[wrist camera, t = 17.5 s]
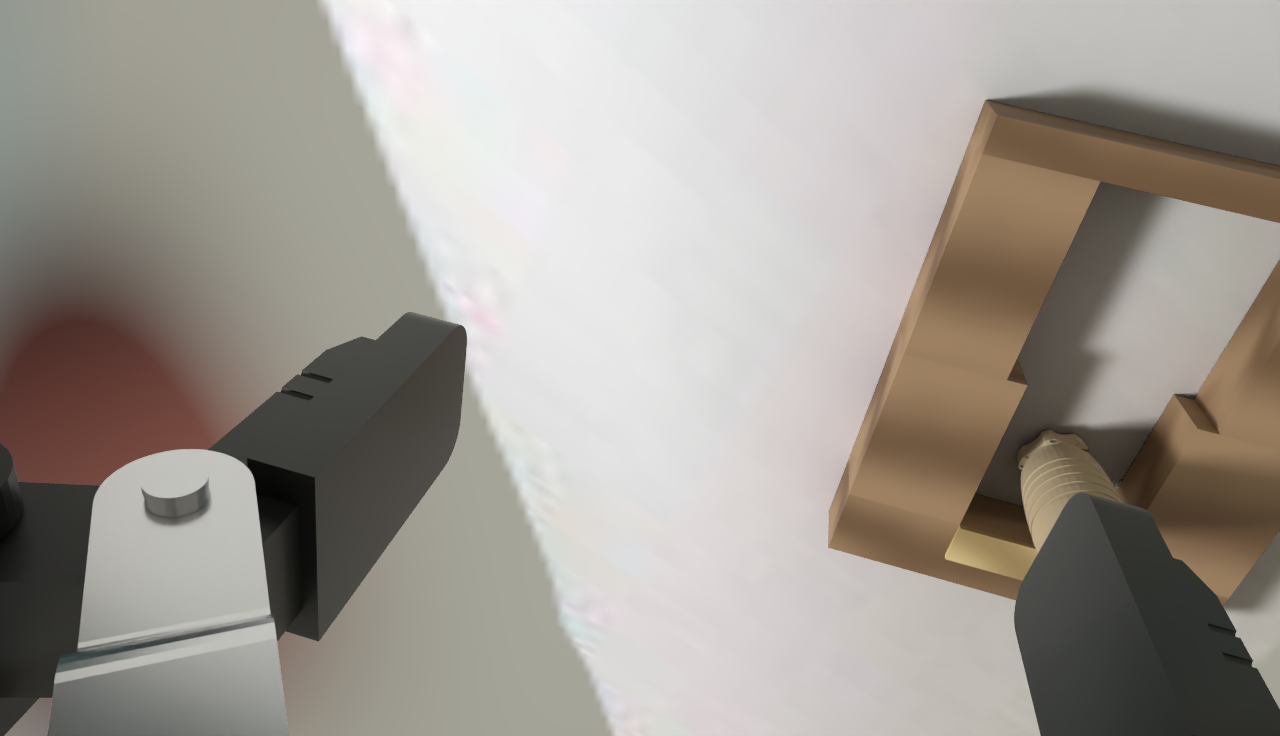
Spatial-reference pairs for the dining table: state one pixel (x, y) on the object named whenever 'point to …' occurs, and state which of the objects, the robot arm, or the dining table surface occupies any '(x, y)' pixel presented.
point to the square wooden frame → (994, 383)
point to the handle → (1057, 479)
